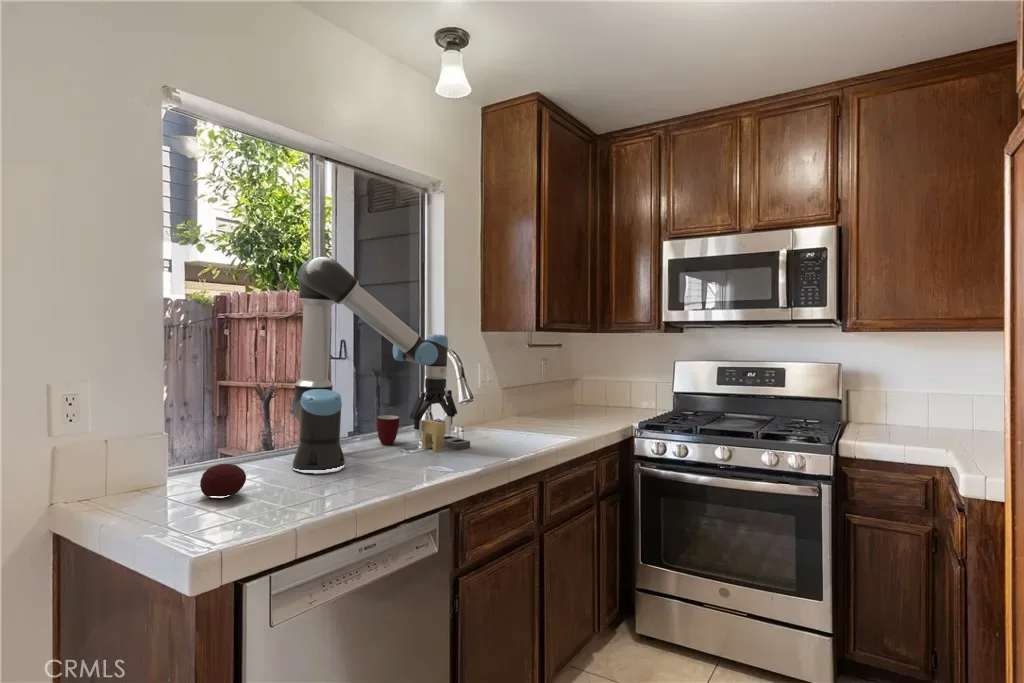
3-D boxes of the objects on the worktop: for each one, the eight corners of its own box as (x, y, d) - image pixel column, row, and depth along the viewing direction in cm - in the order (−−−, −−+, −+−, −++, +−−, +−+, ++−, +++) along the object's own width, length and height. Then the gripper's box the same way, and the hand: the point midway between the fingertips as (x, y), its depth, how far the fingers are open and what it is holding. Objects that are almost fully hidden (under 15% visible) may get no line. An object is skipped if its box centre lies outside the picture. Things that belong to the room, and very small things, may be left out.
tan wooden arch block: (436, 452, 205) (438, 424, 204) (420, 447, 211) (421, 420, 210) (444, 451, 207) (445, 423, 207) (428, 446, 214) (429, 419, 213)
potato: (213, 488, 153) (214, 457, 152) (255, 491, 153) (256, 460, 152) (187, 502, 141) (188, 468, 141) (232, 505, 141) (234, 471, 141)
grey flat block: (455, 450, 210) (456, 443, 209) (434, 444, 218) (434, 437, 217) (470, 447, 215) (470, 441, 215) (448, 441, 223) (448, 435, 223)
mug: (371, 440, 217) (373, 414, 217) (392, 439, 221) (394, 413, 221) (378, 447, 208) (380, 419, 208) (400, 445, 212) (402, 418, 211)
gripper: (414, 380, 196) (411, 442, 197) (468, 377, 215) (465, 433, 216) (401, 377, 201) (398, 438, 202) (454, 375, 220) (452, 430, 221)
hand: (433, 436), depth 209 cm, fingers open, 13 cm apart
